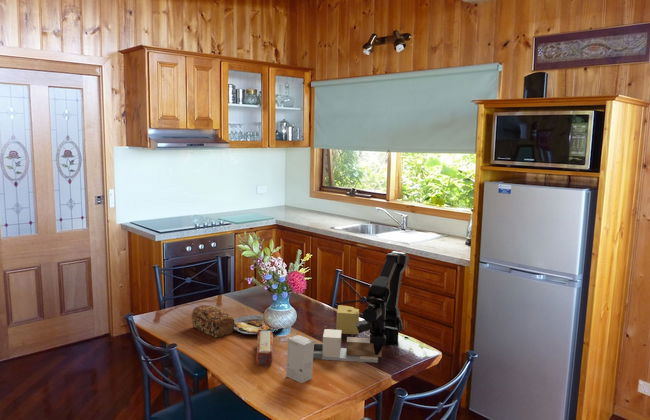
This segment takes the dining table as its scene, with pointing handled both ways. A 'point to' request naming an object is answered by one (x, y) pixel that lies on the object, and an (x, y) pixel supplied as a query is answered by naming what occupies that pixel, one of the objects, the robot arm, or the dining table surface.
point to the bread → (212, 321)
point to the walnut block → (361, 347)
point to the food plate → (248, 329)
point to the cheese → (347, 319)
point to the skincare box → (300, 358)
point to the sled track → (336, 349)
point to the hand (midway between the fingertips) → (376, 352)
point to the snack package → (264, 348)
